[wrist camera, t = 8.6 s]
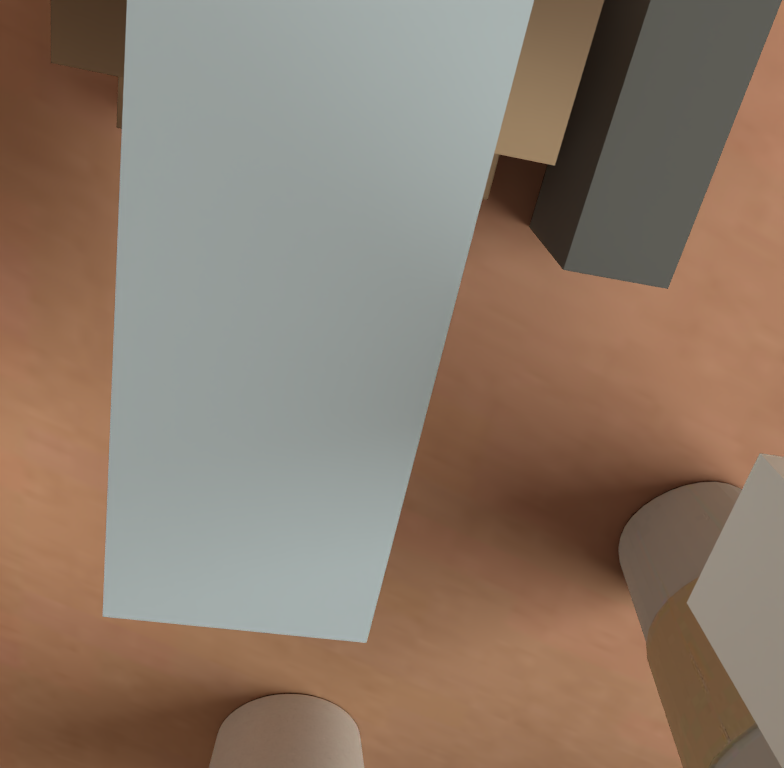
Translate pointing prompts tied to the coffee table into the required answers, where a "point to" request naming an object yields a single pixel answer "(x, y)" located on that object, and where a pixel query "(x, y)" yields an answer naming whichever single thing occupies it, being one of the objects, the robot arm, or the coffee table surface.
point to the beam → (287, 293)
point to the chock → (647, 133)
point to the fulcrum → (525, 103)
